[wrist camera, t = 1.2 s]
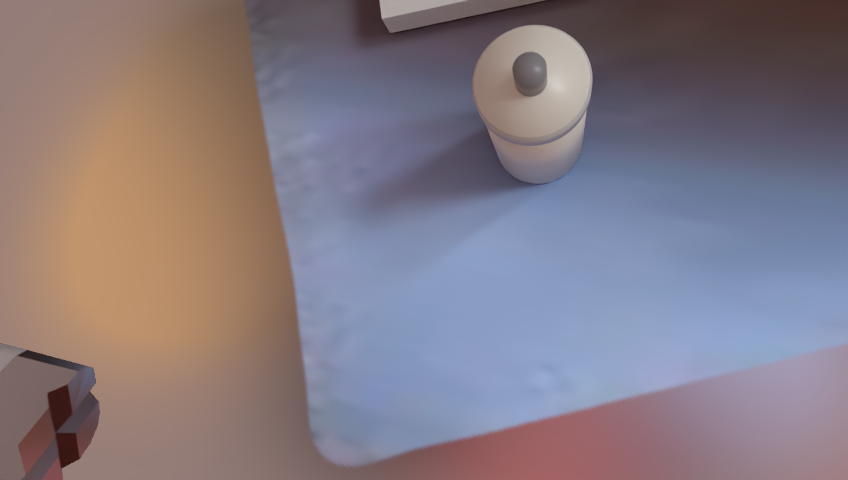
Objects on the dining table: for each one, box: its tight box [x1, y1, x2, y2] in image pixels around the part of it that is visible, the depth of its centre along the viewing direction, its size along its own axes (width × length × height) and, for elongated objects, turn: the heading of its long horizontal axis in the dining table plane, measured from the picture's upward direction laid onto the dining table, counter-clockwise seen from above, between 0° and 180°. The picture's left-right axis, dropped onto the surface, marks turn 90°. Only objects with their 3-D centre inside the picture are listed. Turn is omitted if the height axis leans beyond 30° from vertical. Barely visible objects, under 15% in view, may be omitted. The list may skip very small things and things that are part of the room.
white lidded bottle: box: [472, 25, 592, 184], centre depth 33 cm, size 5×5×12 cm
